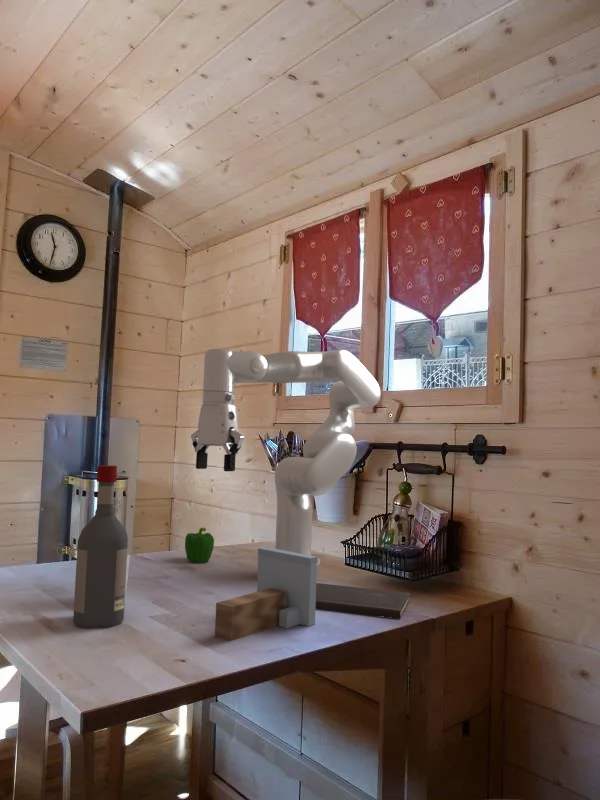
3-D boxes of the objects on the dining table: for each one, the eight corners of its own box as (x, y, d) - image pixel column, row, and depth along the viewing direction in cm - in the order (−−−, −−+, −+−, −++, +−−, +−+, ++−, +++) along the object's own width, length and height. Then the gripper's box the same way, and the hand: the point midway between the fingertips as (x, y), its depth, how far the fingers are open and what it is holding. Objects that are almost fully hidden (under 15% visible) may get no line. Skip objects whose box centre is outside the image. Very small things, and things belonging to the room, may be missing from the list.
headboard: (263, 609, 130) (265, 546, 131) (315, 623, 122) (317, 556, 122) (242, 615, 125) (245, 550, 126) (296, 630, 117) (298, 560, 118)
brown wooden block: (270, 617, 125) (271, 587, 125) (285, 621, 122) (286, 591, 123) (214, 636, 112) (216, 602, 112) (230, 641, 110) (232, 607, 110)
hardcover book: (314, 592, 149) (315, 582, 149) (410, 603, 142) (410, 593, 142) (294, 609, 134) (295, 598, 134) (400, 622, 127) (400, 610, 127)
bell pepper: (182, 559, 180) (184, 524, 180) (210, 558, 182) (211, 524, 183) (185, 564, 172) (187, 529, 172) (215, 564, 174) (216, 528, 175)
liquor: (72, 629, 113) (81, 466, 115) (75, 615, 122) (84, 464, 123) (123, 627, 115) (131, 467, 117) (123, 613, 124) (131, 465, 126)
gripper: (254, 400, 147) (251, 471, 146) (205, 401, 158) (202, 467, 157) (232, 398, 141) (229, 472, 140) (182, 399, 152) (179, 468, 151)
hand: (215, 469), depth 148 cm, fingers open, 9 cm apart
